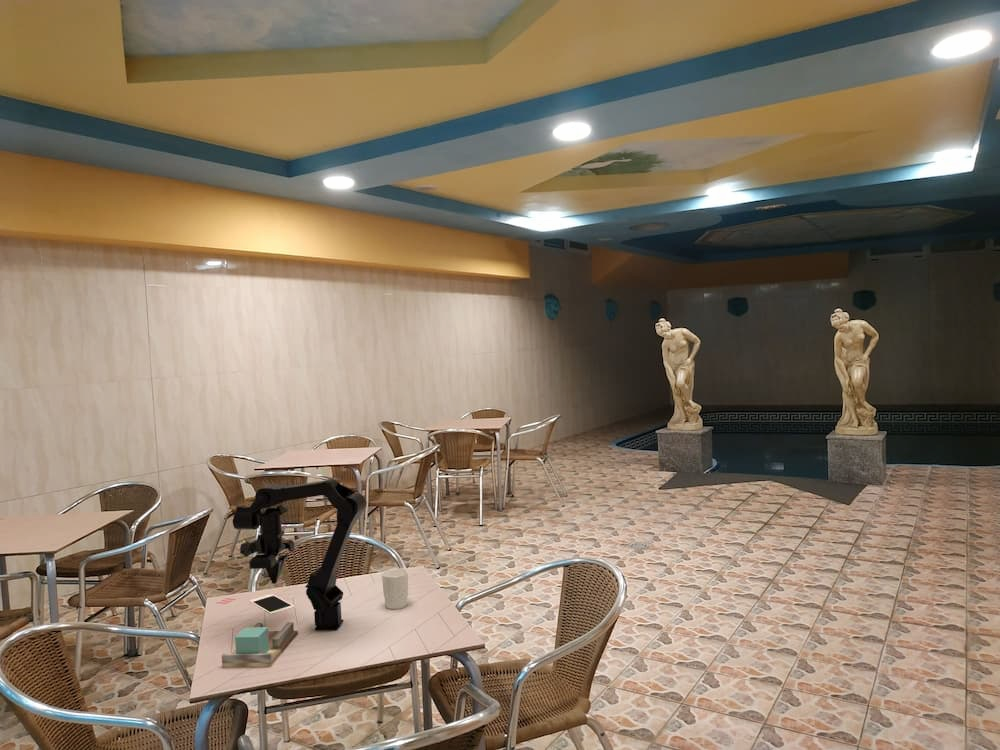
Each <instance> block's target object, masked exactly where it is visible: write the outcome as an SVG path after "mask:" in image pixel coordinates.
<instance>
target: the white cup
mask: <svg viewBox="0 0 1000 750" xmlns="http://www.w3.org/2000/svg"><path fill="white" fill-rule="evenodd" d="M381 581H382V591H383V597H384V607H385V608H387V609H390V610H399V609H402V608H405V607H407V606H408V604H409V603H408V602H409V601H408V597H409V571H408V570H407V568H401V567H400V568H391V569H387V570H385V571H383V572H382V573H381Z"/></svg>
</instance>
